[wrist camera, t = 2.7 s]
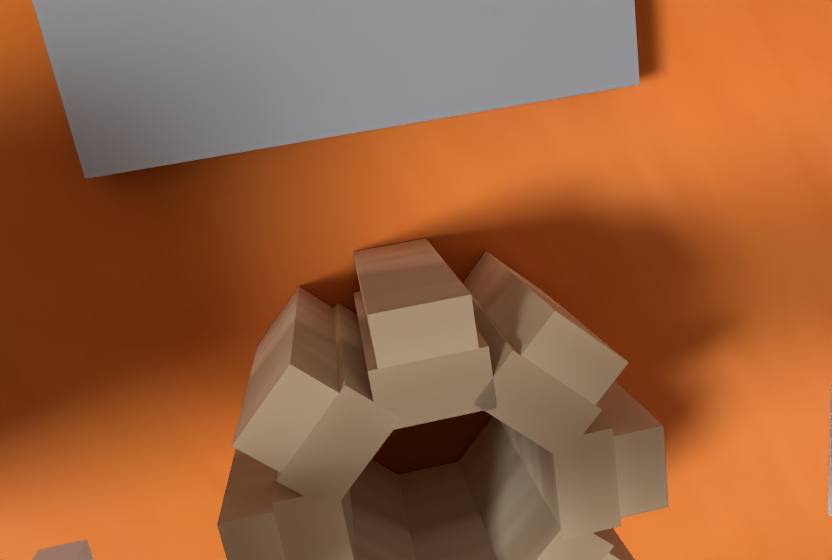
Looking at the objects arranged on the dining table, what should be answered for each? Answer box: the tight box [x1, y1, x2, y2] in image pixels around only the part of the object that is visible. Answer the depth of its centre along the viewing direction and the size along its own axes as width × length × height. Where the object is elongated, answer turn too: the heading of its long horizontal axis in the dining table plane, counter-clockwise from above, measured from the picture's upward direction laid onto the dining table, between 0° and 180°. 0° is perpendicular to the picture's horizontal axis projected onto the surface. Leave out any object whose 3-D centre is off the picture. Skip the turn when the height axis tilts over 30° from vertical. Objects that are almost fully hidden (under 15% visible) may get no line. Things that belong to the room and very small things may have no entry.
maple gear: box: [217, 238, 669, 560], centre depth 15 cm, size 8×8×5 cm
